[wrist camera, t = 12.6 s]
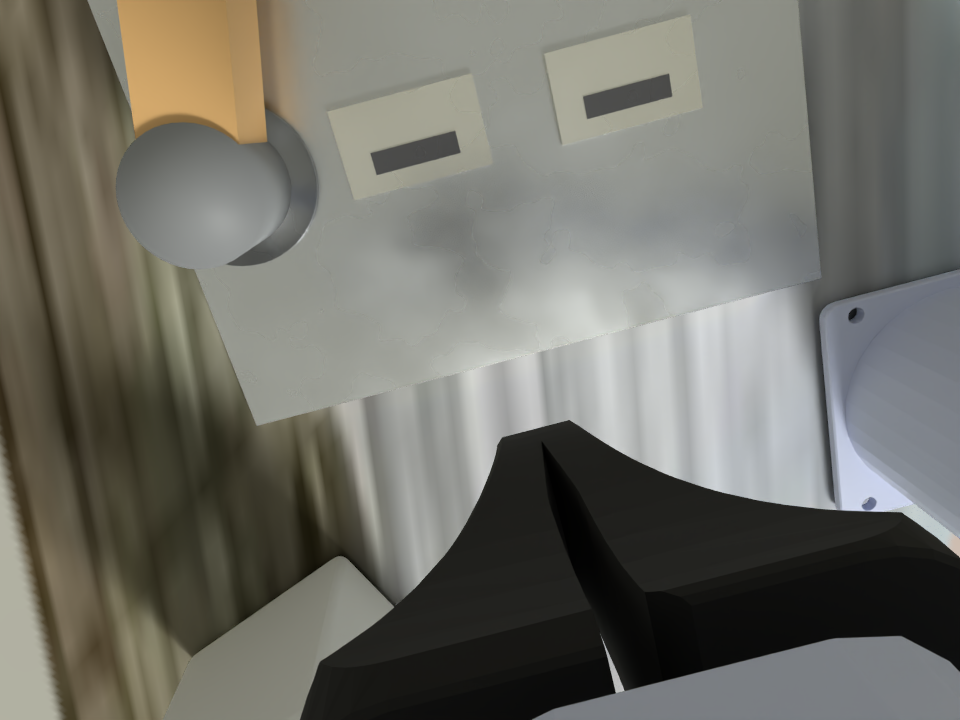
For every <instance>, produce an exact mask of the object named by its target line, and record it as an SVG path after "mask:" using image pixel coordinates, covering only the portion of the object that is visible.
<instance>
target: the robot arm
mask: <svg viewBox="0 0 960 720" xmlns="http://www.w3.org/2000/svg"><path fill="white" fill-rule="evenodd" d="M854 308H857V314H856V316H855V317H854V318H853V319H851V320H849V319H848V315H849V313H850V311H851V310H852V309H854ZM819 323H820V335H821V346H822V358H823V369H824V381H825V392H826V404H827V415H828V426H829V438H830V449H831V461H832V472H833V484H834V495H835V506H836V509H837V510H825V509H815V508H807V507H798V506H790V505H782V504H776V503H770V502H763V501H758V500H753V499H748V498H744V497H739V496H735V495H730V494H726V493H722V492H718V491H714V490H711V489H707V488H704V487H701V486H698V485H695V484H692V483H689V482H686V481H683V480H680V479H677V478H674V477H672V476H669V475H667V474H664V473H662V472H659V471H657V470H655V469H653V468H651V467H648V466H646V465H644V464H642V463H640V462H638V461H636V460H634V459H632V458H630V457H628V456H626V455H624V454H622V453H621V452H619V451H617V450H615V449H614V448H612V447H610V446H609V445H607V444H605V443H604V442H602V441H601V440H599V439H598V438H596V437H594V436H593V435H591V434H590V433H588V432H587V431H585V430H584V429H583V428H581V427H580V426H578V425H576V424H575V423H573V422H572V421H570V420H568V421H564V422H560V423H557V424H553V425H549V426H545V427H541V428H537V429H533V430H530V431H526V432H522V433H518V434H514V435H510V436H506V437H503V438H502V439H501V440H500V442H499V443H498V445H497V451H496V456H495V459H494V462H493V465H492V468H491V471H490V474H489V476H488V479H487V481H486V484H485V486H484V489H483V491H482V493H481V496H480V498H479V500H478V502H477V504H476V506H475V508H474V509H473V511H472V513H471V515H470V517H469V519H468V521H467V523H466V525H465V526H464V528H463V530H462V531H461V533H460V534H459V536H458V538H457V539H456V541H455V542H454V544H453V545H452V546H451V548H450V549H449V551H448V552H447V553H446V554H445V556H444V557H443V558H442V559H441V560H440V561H439V562H438V564H437V565H436V566H435V567H434V568H433V569H432V570H431V571H430V572H429V574H428V575H427V576H426V577H425V578H424V579H423V580H422V581H421V582H420V584H419V585H418V586H417V587H416V588H415V589H414V590H413V591H412V592H411V593H409V594H408V595H407V596H406V597H405V598H404V599H403V600H402V601H401V602H400V603H399V604H398V605H396V606H395V607H394V608H393V609H392V610H390V611H389V612H388V613H387V614H386V615H385V616H383V617H382V618H381V619H380V620H378V621H377V622H376V623H375V624H373V625H372V626H371V627H370V628H368V629H367V630H365V631H364V632H362V633H361V634H360V635H358V636H357V637H355V638H354V639H352V640H351V641H350V642H348V643H347V644H345V645H344V646H342V647H341V648H340V649H338V650H337V651H335V652H334V653H332V654H331V655H329V656H328V657H326V658H325V659H323V660H321V661H320V662H319V665H318V667H317V671H316V674H315V677H314V680H313V682H312V685H311V688H310V690H309V693H308V695H307V698H306V701H305V705H304V708H303V711H302V714H301V718H300V720H960V558H959V556H957V555H956V554H955V553H954V552H953V551H952V550H950V549H949V548H948V547H947V546H946V545H945V544H943V543H942V542H941V541H940V540H939V539H938V538H936V537H935V536H934V535H932V534H931V533H930V532H928V531H927V530H925V529H924V528H923V527H921V526H920V525H919V524H917V523H916V522H915V521H913V520H912V519H910V518H909V517H907V516H906V515H904V514H903V513H901V512H884V511H888V510H892V509H896V508H900V507H904V506H908V505H912V504H915V505H917V506H918V507H919V508H921V509H922V510H923V511H925V512H926V513H927V514H928V515H930V516H931V517H932V518H934V519H935V520H936V521H937V522H939V523H940V524H941V525H943V526H944V527H945V528H946V529H948V530H949V531H950V532H952V533H953V534H954V535H955V536H957V537H958V538H959V539H960V269H958V270H955V271H951V272H947V273H943V274H939V275H935V276H932V277H928V278H924V279H920V280H916V281H912V282H909V283H905V284H901V285H897V286H893V287H889V288H885V289H882V290H878V291H874V292H870V293H866V294H862V295H859V296H855V297H851V298H847V299H843V300H839V301H836V302H832V303H830V304H828V305H827V306H826V307H825V308H824V309H823V310H822V312H821V314H820V319H819ZM869 497H870V498H869ZM867 498H869V500H868V502H867V503H865V504H863V505H862V502H863V501H864V500H865V499H867ZM600 634H601V635H600ZM601 636H602V638H601ZM602 639H603V641H604V643H605V645H606V648H607V650H608V652H609V655H610V657H611V659H612V661H613V664H614V666H615V668H616V670H617V673H618V675H619V677H620V680H621V683H622V685H623V688H624V690H625V691H623V692H619V693H616V692H615V688H614V684H613V679H612V675H611V671H610V667H609V662H608V658H607V654H606V651H605V647H604V644H603V641H602Z"/></svg>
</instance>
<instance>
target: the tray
mask: <svg viewBox="0 0 960 720" xmlns="http://www.w3.org/2000/svg"><path fill="white" fill-rule="evenodd" d="M88 3H89V5H90V8H91V11H92V13H93V16H94V18H95V21H96V23H97V26H98V28H99V31H100V33H101V36H102V38H103V41H104V43H105V46H106V48H107V51H108V53H109V56H110V58H111V61H112V63H113V66H114V68H115V71H116V73H117V76H118V78H119V81H120V83H121V86H122V88H123V91H124V93H125V96H126V99H127V101H128V104H129V106H130V109H131V102H130V94H129V87H128V80H127V72H126V65H125V58H124V50H123V43H122V36H121V28H120V21H119V14H118V6H117V0H88ZM256 4H257V17H258V30H259V43H260V56H261V68H262V81H263V94H264V107H265V120H266V132H267V141H268V142H270V143H271V144H272V145H273V147H274V148H275V149H276V150H277V151H278V153H279V154H280V156H281V157H282V159H283V161H284V163H285V165H286V167H287V170H288V172H289V176H290V181H291V203H290V207H289V210H288V213H287V215H286V218H285V219H284V221H283V223H282V224H281V225H280V227H279V228H278V229H277V230H276V231H275V232H274V233H273V234H272V235H270V236H269V237H268V238H266V239H265V240H263V241H262V242H260V243H259V244H257V245H256V246H254V247H253V248H251V249H250V250H248V251H247V252H245V253H244V254H242V255H241V256H239V257H238V258H236V259H235V260H233V261H231V262H229V263H227V264H225V265H222V266H219V267H215V268H210V269H195V272H196V275H197V277H198V280H199V282H200V285H201V287H202V290H203V292H204V295H205V297H206V300H207V302H208V305H209V307H210V310H211V312H212V315H213V317H214V320H215V322H216V325H217V327H218V330H219V332H220V335H221V337H222V340H223V342H224V345H225V347H226V350H227V352H228V355H229V357H230V360H231V363H232V365H233V368H234V370H235V373H236V375H237V378H238V380H239V383H240V385H241V388H242V390H243V393H244V395H245V398H246V400H247V403H248V405H249V408H250V410H251V413H252V415H253V418H254V420H255V423H256V425H257V426H258V425H261V424H265V423H269V422H273V421H277V420H281V419H284V418H288V417H292V416H296V415H300V414H303V413H307V412H311V411H315V410H319V409H323V408H326V407H330V406H334V405H338V404H342V403H346V402H349V401H353V400H357V399H361V398H365V397H369V396H372V395H376V394H380V393H384V392H388V391H392V390H395V389H399V388H403V387H407V386H411V385H415V384H418V383H422V382H426V381H430V380H434V379H438V378H441V377H445V376H449V375H453V374H457V373H461V372H464V371H468V370H472V369H476V368H480V367H484V366H487V365H491V364H495V363H499V362H503V361H506V360H510V359H514V358H518V357H522V356H526V355H529V354H533V353H537V352H541V351H545V350H549V349H552V348H556V347H560V346H564V345H568V344H572V343H575V342H579V341H583V340H587V339H591V338H595V337H598V336H602V335H606V334H610V333H614V332H618V331H621V330H625V329H629V328H633V327H637V326H641V325H644V324H648V323H652V322H656V321H660V320H664V319H667V318H671V317H675V316H679V315H683V314H687V313H690V312H694V311H698V310H702V309H706V308H709V307H713V306H717V305H721V304H725V303H729V302H732V301H736V300H740V299H744V298H748V297H752V296H755V295H759V294H763V293H767V292H771V291H775V290H778V289H782V288H786V287H790V286H794V285H798V284H801V283H805V282H809V281H813V280H817V279H821V267H820V256H819V244H818V232H817V220H816V208H815V196H814V185H813V173H812V161H811V149H810V137H809V125H808V114H807V102H806V90H805V78H804V66H803V54H802V43H801V31H800V19H799V7H798V0H256ZM131 111H132V109H131Z"/></svg>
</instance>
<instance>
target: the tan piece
mask: <svg viewBox="0 0 960 720" xmlns="http://www.w3.org/2000/svg"><path fill="white" fill-rule="evenodd" d="M117 6H118V14H119V21H120V28H121V36H122V43H123V50H124V58H125V65H126V72H127V80H128V87H129V94H130V102H131V109H132V116H133V124H134V131H135V138H136V140H135V141H134V142H133V143H132V144H131V145H130V146H129V148H128V149H127V150H126V152H125V154H124V156H123V158H122V159H121V162H120V165H119V168H118V172H117V177H116V196H117V202H118V206H119V209H120V212H121V215H122V218H123V220H124V222H125V224H126V226H127V227H128V229H129V230H130V232H131V233H132V235H133V236H134V237H135V238H136V240H137V241H138V242H139V243H140V244H141V245H142V246H143V247H144V248H145V249H147V250H148V251H149V252H150V253H152V254H153V255H155V256H156V257H158V258H160V259H161V260H163V261H166V262H168V263H170V264H173V265H176V266H179V267H183V268H189V269H210V268H215V267H219V266H222V265H225V264H227V263H229V262H231V261H233V260H235V259H236V258H238V257H239V256H241V255H242V254H244V253H245V252H247V251H248V250H250V249H251V248H253V247H254V246H256V245H257V244H259V243H260V242H262V241H263V240H265V239H266V238H268V237H269V236H270V235H272V234H273V233H274V232H275V231H276V230H277V229H278V228H279V227H280V225H281V224H282V223H283V221H284V219H285V218H286V215H287V213H288V210H289V207H290V203H291V181H290V176H289V172H288V170H287V167H286V165H285V163H284V161H283V159H282V157H281V156H280V154H279V153H278V151H277V150H276V149H275V148H274V147H273V145H272V144H271V143H270V142H268V141H267V132H266V120H265V107H264V94H263V81H262V68H261V56H260V43H259V30H258V17H257V4H256V0H117Z"/></svg>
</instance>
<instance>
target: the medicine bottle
mask: <svg viewBox="0 0 960 720" xmlns="http://www.w3.org/2000/svg"><path fill="white" fill-rule="evenodd" d="M393 608H394V606H393V605H392V604H391V603H390V602H389V601H388V600H387V599H386V598H385V597H384V596H383V595H382V594H381V593H380V592H379V591H378V590H377V589H376V588H375V587H374V586H373V585H372V584H371V583H370V582H369V581H368V580H367V579H366V578H365V576H364V575H363V574H362V573H361V572H360V571H359V570H358V569H357V568H356V567H355V566H354V565H353V564H352V563H351V562H350V561H349V560H348V559H347V558H345V557H343V556H337V557H335V558H333V559H332V560H330V561H329V562H327V563H326V564H324V565H323V566H321V567H320V568H319V569H317V570H316V571H314V572H313V573H311V574H310V575H309V576H307V577H306V578H304V579H303V580H301V581H300V582H298V583H297V584H296V585H294V586H293V587H291V588H290V589H288V590H287V591H286V592H284V593H283V594H281V595H280V596H278V597H277V598H275V599H274V600H273V601H271V602H270V603H268V604H267V605H265V606H264V607H263V608H261V609H260V610H258V611H257V612H255V613H254V614H252V615H251V616H250V617H248V618H247V619H245V620H244V621H242V622H241V623H240V624H238V625H237V626H235V627H234V628H232V629H231V630H229V631H228V632H227V633H225V634H224V635H222V636H221V637H219V638H218V639H217V640H215V641H214V642H212V643H211V644H209V645H208V646H206V647H205V648H204V649H202V650H201V651H199V652H198V653H196V654H195V655H194V656H193V657H192V658H191V660H190V661H189V663H188V665H187V667H186V670H185V672H184V674H183V676H182V679H181V681H180V683H179V685H178V687H177V690H176V692H175V694H174V696H173V698H172V701H171V703H170V705H169V707H168V709H167V712H166V714H165V716H164V718H163V720H300V718H301V714H302V711H303V708H304V705H305V701H306V698H307V695H308V693H309V690H310V688H311V685H312V682H313V680H314V677H315V674H316V671H317V667H318V665H319V662H320V661H321V660H323V659H325V658H326V657H328V656H329V655H331V654H332V653H334V652H335V651H337V650H338V649H340V648H341V647H342V646H344V645H345V644H347V643H348V642H350V641H351V640H352V639H354V638H355V637H357V636H358V635H360V634H361V633H362V632H364V631H365V630H367V629H368V628H370V627H371V626H372V625H373V624H375V623H376V622H377V621H378V620H380V619H381V618H382V617H383V616H385V615H386V614H387V613H388V612H389V611H390V610H392V609H393Z"/></svg>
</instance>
